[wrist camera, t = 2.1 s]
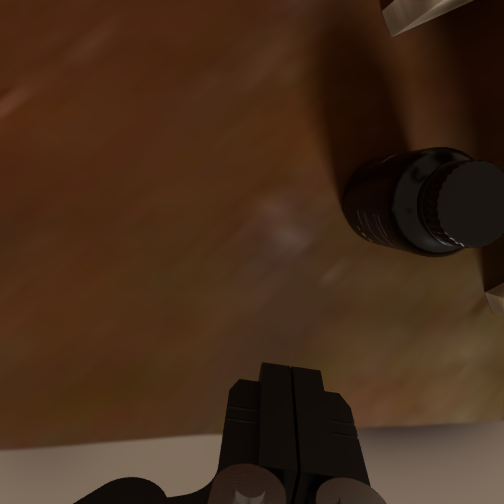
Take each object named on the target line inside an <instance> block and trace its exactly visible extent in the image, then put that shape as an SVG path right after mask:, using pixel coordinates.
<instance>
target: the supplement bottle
mask: <svg viewBox="0 0 504 504" xmlns="http://www.w3.org/2000/svg"><path fill="white" fill-rule="evenodd" d="M343 207H344V213H345V216H346V219H347V221H348V223H349V225H350V226H351V228H352V229H353V230H354V231H355V232H356V233H357V234H358V235H359V236H360V237H362V238H363V239H365V240H367V241H369V242H372V243H375V244H379V245H383V246H386V247H390V248H394V249H398V250H402V251H406V252H409V253H413V254H417V255H421V256H427V257H445V256H449V255H453V254H455V253H458V252H460V251H461V250H463V249H465V248H472V247H473V248H479V247H481V246H487V245H488V244H489V243H494V242H495V240H496V239H499V238H500V237H501V236H502V234H503V233H504V170H502V169H501V168H500V167H499V166H498V165H494V164H493V163H492V162H486V161H484V160H474V159H473V158H472V157H470V156H469V155H467V154H466V153H464V152H462V151H460V150H457V149H453V148H448V147H433V148H427V149H421V150H415V151H410V152H404V153H398V154H393V155H387V156H382V157H378V158H374V159H372V160H369V161H367V162H366V163H364V164H362V165H361V166H360V167H359V168H358V169H357V170H356V171H355V172H354V173H353V174H352V176H351V177H350V179H349V181H348V183H347V185H346V188H345V191H344V197H343Z"/></svg>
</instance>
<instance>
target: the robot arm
mask: <svg viewBox="0 0 504 504" xmlns="http://www.w3.org/2000/svg"><path fill="white" fill-rule="evenodd" d="M357 436H358V435H357V431H356V427H355V426H354V419H353V416H352V412H351V408H350V406H349V405H348V404H347V403H346V401H345V400H344V399H343V398H342V396H341V395H340V394H339V393H333V392H326V391H324V387H323V381H322V376H321V372H320V370H313V369H306V368H300V367H293V366H292V367H291V369H290V366H285V365H278V364H271V363H264V362H262V364H261V369H260V374H259V380H258V382H257V381H250V380H243V379H239V380H238V381H237V382H236V383H235V384H234V386H233V387H232V388H231V389H230V390H229V396H228V403H227V410H226V417H225V423H224V430H223V437H222V444H221V451H220V458H219V464H218V470H217V473H216V475H215V477H214V478H213V479H212V481H211V482H210V483H209V484H208V485H206V486H205V487H204V488H202V489H200V490H198V491H196V492H194V493H191V494H187V495H182V496H175V497H168V498H167V497H166V495H165V493H164V491H163V490H162V489H161V488H160V487H159V486H158V485H156V484H155V483H153V482H151V481H149V480H146V479H143V478H138V477H128V478H120V479H116V480H114V481H111V482H109V483H107V484H105V485H103V486H101V487H100V488H98V489H97V490H95V491H93V492H92V493H90V494H88V495H87V496H85V497H83V498H82V499H80V500H78V501H77V502H75V503H73V504H386V502H385V501H384V499H383V498H382V497H381V496H380V495H379V494H378V493H377V492H376V491H375V490H374V489H372V488H371V486H370V482H369V478H368V474H367V471H366V466H365V463H364V459H363V455H362V451H361V447H360V443H359V440H358V439H357Z"/></svg>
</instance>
